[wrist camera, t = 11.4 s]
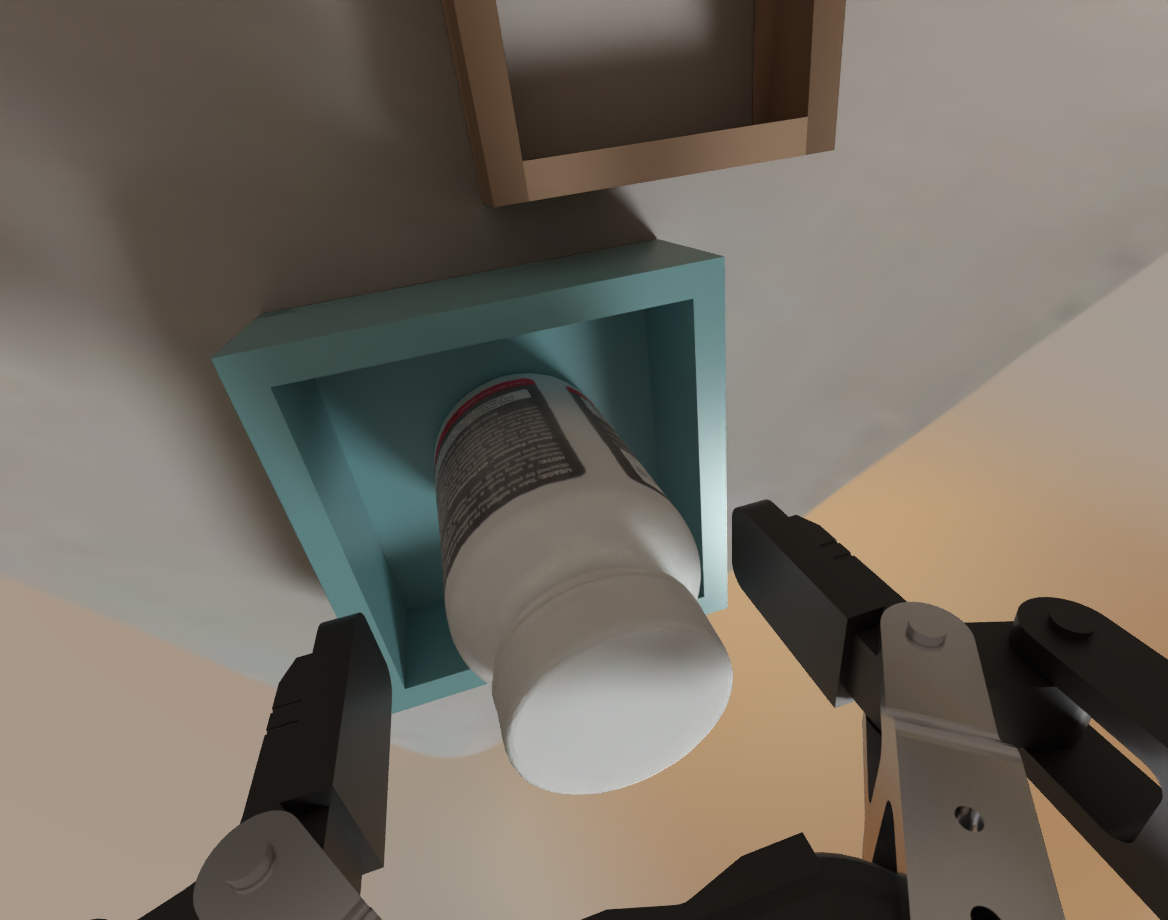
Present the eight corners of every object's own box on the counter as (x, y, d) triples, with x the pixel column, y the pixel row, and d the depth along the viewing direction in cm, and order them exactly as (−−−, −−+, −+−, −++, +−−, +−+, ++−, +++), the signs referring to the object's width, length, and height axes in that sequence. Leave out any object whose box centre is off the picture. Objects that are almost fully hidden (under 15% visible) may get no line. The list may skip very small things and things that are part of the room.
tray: (658, 239, 16) (724, 256, 13) (677, 538, 21) (727, 608, 18) (260, 314, 14) (210, 358, 11) (390, 621, 20) (385, 715, 16)
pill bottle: (427, 523, 17) (443, 847, 9) (438, 360, 15) (471, 594, 7) (588, 523, 19) (723, 796, 11) (619, 376, 17) (821, 579, 9)
